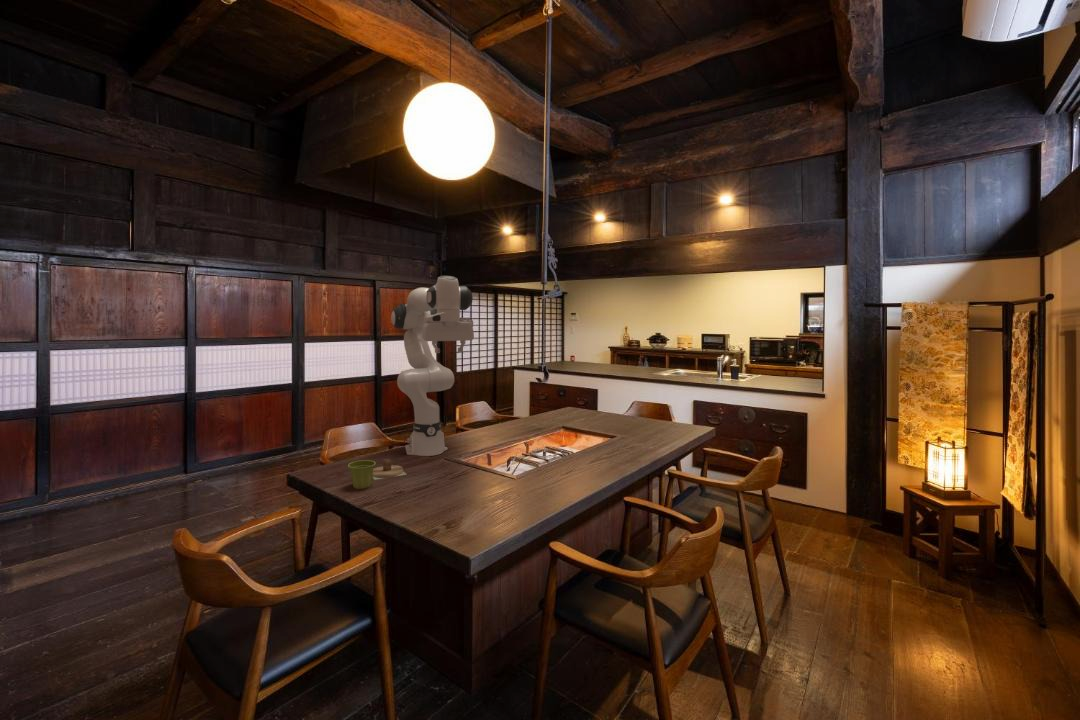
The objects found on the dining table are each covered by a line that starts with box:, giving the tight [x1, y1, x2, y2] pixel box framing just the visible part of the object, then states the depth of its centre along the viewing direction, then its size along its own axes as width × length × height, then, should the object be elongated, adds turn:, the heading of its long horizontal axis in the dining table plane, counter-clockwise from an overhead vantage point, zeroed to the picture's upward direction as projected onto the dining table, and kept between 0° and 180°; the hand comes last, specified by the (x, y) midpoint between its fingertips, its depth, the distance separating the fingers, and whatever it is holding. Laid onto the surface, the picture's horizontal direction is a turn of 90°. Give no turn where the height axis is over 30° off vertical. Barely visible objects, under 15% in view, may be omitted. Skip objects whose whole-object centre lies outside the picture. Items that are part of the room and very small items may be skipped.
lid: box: [372, 458, 404, 479], centre depth 183 cm, size 12×12×5 cm
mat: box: [372, 470, 407, 481], centre depth 183 cm, size 12×12×1 cm
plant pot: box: [347, 459, 377, 490], centre depth 169 cm, size 9×9×9 cm
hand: (449, 352), depth 184 cm, fingers open, 8 cm apart
